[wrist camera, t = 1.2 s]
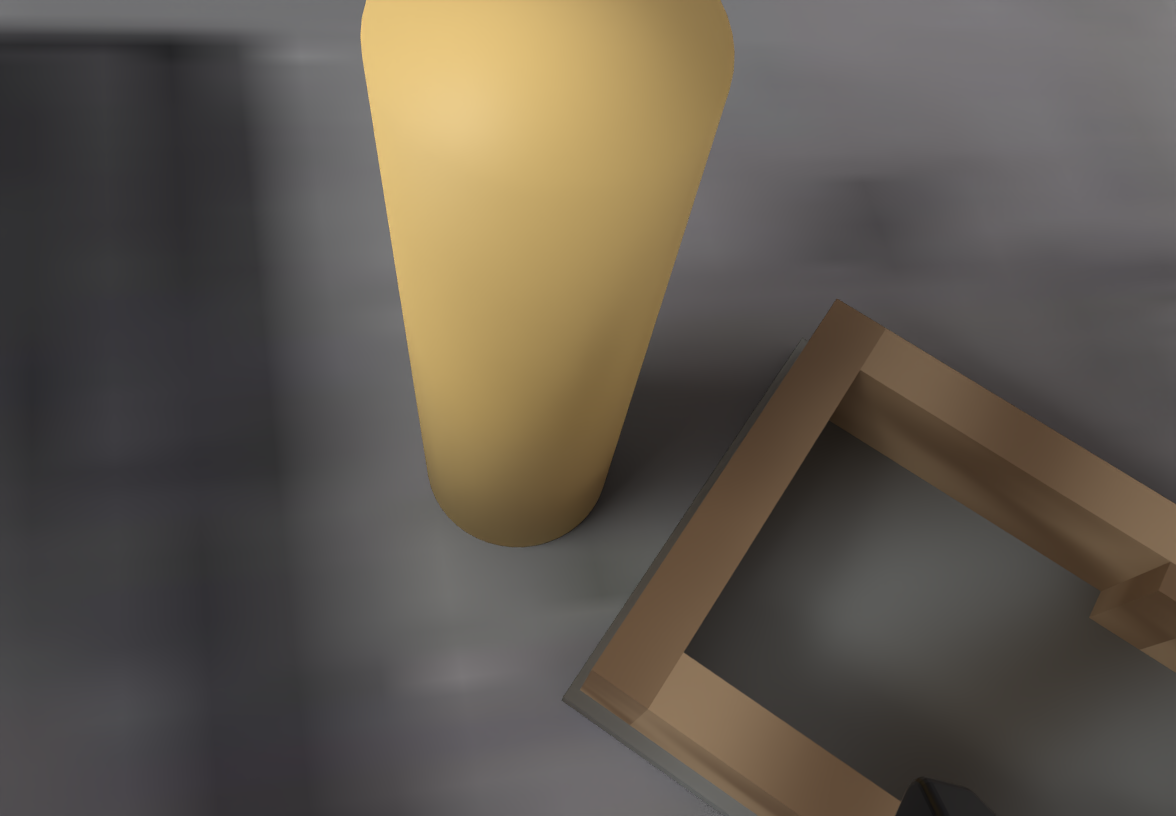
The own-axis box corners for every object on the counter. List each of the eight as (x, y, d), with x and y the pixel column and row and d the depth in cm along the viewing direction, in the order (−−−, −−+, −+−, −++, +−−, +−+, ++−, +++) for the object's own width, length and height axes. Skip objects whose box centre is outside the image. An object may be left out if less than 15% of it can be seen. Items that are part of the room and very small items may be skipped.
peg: (576, 571, 22) (682, 239, 10) (400, 514, 22) (298, 122, 10) (627, 409, 24) (769, -40, 12) (462, 357, 24) (438, -138, 12)
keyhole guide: (1444, 748, 22) (1579, 733, 19) (1310, 1232, 18) (1454, 1299, 16) (796, 347, 25) (835, 283, 22) (561, 700, 21) (572, 677, 18)
